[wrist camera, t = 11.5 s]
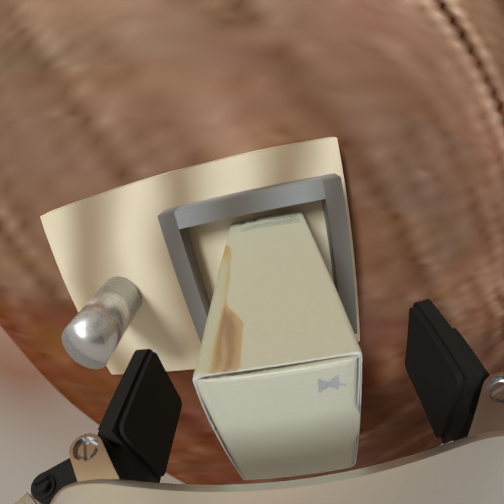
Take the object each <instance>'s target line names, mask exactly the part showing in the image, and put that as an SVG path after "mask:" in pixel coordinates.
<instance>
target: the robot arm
mask: <svg viewBox="0 0 504 504" xmlns="http://www.w3.org/2000/svg"><path fill="white" fill-rule="evenodd" d="M405 366H406V370H407V372H408V375H409V377H410V379H411V381H412V383H413V385H414V387H415V390H416V392H417V394H418V396H419V398H420V401H421V403H422V405H423V407H424V410H425V412H426V414H427V417H428V419H429V421H430V424H431V426H432V428H433V431H434V433H435V435H436V437H437V438H439V437H441V439H442V441H443V444H444V445H441V446H438V447H435V448H432V449H429V450H426V451H423V452H420V453H417V454H413V455H410V456H407V457H403V458H400V459H396V460H393V461H389V462H385V463H382V464H378V465H374V466H370V467H365V468H361V469H357V470H352V471H347V472H342V473H337V474H331V475H326V476H320V477H313V478H306V479H299V480H291V481H281V482H271V483H258V484H238V485H188V484H169V483H160V479H161V476H163V475H164V474H165V472H166V468H167V464H168V459H169V455H170V451H171V447H172V443H173V439H174V435H175V431H176V427H177V423H178V419H179V415H180V411H181V407H182V403H181V399H180V397H179V395H178V393H177V391H176V389H175V388H174V386H173V384H172V382H171V380H170V378H169V376H168V374H167V372H166V370H165V369H164V367H163V365H162V363H161V361H160V359H159V357H158V355H157V353H156V352H153V351H152V350H151V349H141V350H136V351H135V352H134V354H133V356H132V358H131V360H130V362H129V364H128V366H127V368H126V370H125V372H124V374H123V376H122V378H121V381H120V383H119V385H118V387H117V389H116V391H115V393H114V395H113V398H112V400H111V402H110V404H109V406H108V408H107V411H106V413H105V415H104V417H103V419H102V422H101V424H100V426H99V428H98V430H99V432H98V435H95V434H91V433H90V434H84V435H81V436H80V437H78V438H77V439H76V440H75V441H74V442H73V443H72V445H71V447H70V450H69V456H70V458H69V459H67V460H65V461H63V462H62V463H60V464H58V465H56V466H54V467H53V468H51V469H49V470H47V471H45V472H43V473H41V474H40V475H38V476H37V477H36V478H35V479H34V481H33V483H32V485H31V494H29V493H26V494H25V495H24V496H23V497H22V498H21V499H20V500H19V501H18V502H16V503H15V504H504V372H498V373H494V374H492V375H489V374H488V372H487V371H486V369H485V368H484V366H483V365H482V363H481V362H480V361H479V359H478V358H477V356H476V355H475V353H474V352H473V351H472V349H471V348H470V347H469V345H468V344H467V342H466V341H465V340H464V338H463V337H462V336H461V334H460V333H459V332H458V331H457V330H456V329H454V328H451V326H450V325H449V324H448V322H447V321H446V320H445V318H444V317H443V316H442V314H441V313H440V312H439V310H438V309H437V308H436V307H435V305H434V304H433V303H432V302H431V300H429V299H427V300H423V301H419V302H415V303H414V305H413V307H412V308H410V310H409V324H408V338H407V349H406V359H405ZM452 440H453V442H450V441H452ZM447 442H450V443H447ZM445 443H447V444H445Z"/></svg>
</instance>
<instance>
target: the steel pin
mask: <svg viewBox="0 0 504 504" xmlns="http://www.w3.org/2000/svg"><path fill="white" fill-rule="evenodd" d="M141 305H142V296H141V293H140V291H139V289H138V287H137V286H136V285H135V284H134V283H133V282H132V281H130V280H129V279H127V278H124V277H120V276H116V277H112V278H110V279H108V280H107V281H106V282H105V283H104V284H103V286H102V287H101V288H100V289H99V290H98V291H97V292H96V293H95V294H94V296H93V297H92V298H91V299H90V300H89V301H88V302H87V304H86V305H85V306H84V307H83V308H82V309H81V311H80V312H79V313H78V314H77V315H76V316H75V318H74V319H73V320H72V321H71V322H70V323H69V325H68V326H67V327H66V328H65V329H64V331H63V333H62V342H63V345H64V348H65V350H66V351H67V353H68V354H69V355H70V356H71V357H72V358H73V359H74V360H75V361H76V362H77V363H79V364H80V365H82V366H84V367H87V368H90V369H101V368H103V367H104V366H106V364H107V363H108V361H109V359H110V357H111V356H112V354H113V352H114V351H115V349H116V347H117V345H118V344H119V342H120V340H121V339H122V337H123V335H124V334H125V332H126V330H127V329H128V327H129V325H130V324H131V322H132V320H133V319H134V317H135V315H136V314H137V312H138V310H139V309H140V307H141Z"/></svg>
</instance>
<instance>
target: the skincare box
mask: <svg viewBox="0 0 504 504" xmlns="http://www.w3.org/2000/svg"><path fill="white" fill-rule="evenodd" d="M362 359H363V357H362V352H361V348H360V346H359V344H358V341H357V339H356V336H355V333H354V331H353V328H352V326H351V323H350V321H349V318H348V316H347V313H346V311H345V308H344V306H343V304H342V301H341V299H340V296H339V294H338V292H337V289H336V287H335V285H334V282H333V280H332V278H331V275H330V273H329V271H328V269H327V266H326V264H325V262H324V260H323V257H322V255H321V253H320V251H319V248H318V246H317V244H316V242H315V240H314V237H313V235H312V233H311V231H310V229H309V226H308V224H307V222H306V220H305V218H304V216H303V213H302V212H300V211H298V212H291V213H283V214H277V215H270V216H264V217H258V218H253V219H248V220H244V221H239V222H235V223H232V224H231V225H230V229H229V233H228V237H227V241H226V245H225V249H224V253H223V257H222V261H221V264H220V268H219V272H218V277H217V281H216V285H215V289H214V293H213V297H212V301H211V305H210V309H209V314H208V318H207V322H206V326H205V330H204V335H203V338H202V343H201V347H200V351H199V355H198V359H197V363H196V368H195V371H194V375H193V383H194V386H195V389H196V392H197V395H198V397H199V399H200V402H201V404H202V407H203V409H204V411H205V414H206V416H207V418H208V421H209V422H210V424H211V426H212V428H213V430H214V432H215V434H216V436H217V438H218V439H219V441H220V443H221V445H222V447H223V449H224V450H225V452H226V454H227V455H228V457H229V459H230V461H231V462H232V464H233V465H234V467H235V469H236V470H237V471H238V473H239V474H240V476H241V478H242V479H244V480H255V479H269V478H281V477H292V476H299V475H308V474H315V473H322V472H328V471H334V470H340V469H346V468H350V467H352V466H354V465H355V463H356V457H357V450H358V440H359V431H360V417H361V395H362Z"/></svg>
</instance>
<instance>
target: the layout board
mask: <svg viewBox="0 0 504 504" xmlns="http://www.w3.org/2000/svg"><path fill="white" fill-rule="evenodd" d="M298 211H300V212H302V213H303V216H304V218H305V220H306V222H307V224H308V226H309V229H310V231H311V233H312V235H313V237H314V240H315V242H316V244H317V246H318V248H319V251H320V253H321V255H322V257H323V260H324V262H325V264H326V266H327V269H328V271H329V273H330V275H331V278H332V280H333V282H334V285H335V287H336V289H337V292H338V294H339V296H340V299H341V301H342V304H343V306H344V308H345V311H346V313H347V316H348V318H349V321H350V323H351V326H352V328H353V331H354V333H355V336H356V339H357V341H358V342H360V329H359V310H358V295H357V282H356V271H355V260H354V250H353V241H352V232H351V224H350V216H349V209H348V201H347V194H346V188H345V181H344V175H343V169H342V163H341V157H340V152H339V146H338V141H337V137H326V138H320V139H314V140H308V141H303V142H297V143H292V144H286V145H281V146H276V147H271V148H266V149H261V150H257V151H252V152H247V153H243V154H238V155H234V156H230V157H225V158H221V159H217V160H213V161H209V162H205V163H201V164H197V165H193V166H189V167H185V168H182V169H178V170H174V171H171V172H167V173H164V174H160V175H157V176H153V177H150V178H146V179H143V180H140V181H137V182H133V183H130V184H127V185H124V186H121V187H117V188H114V189H111V190H108V191H105V192H102V193H99V194H96V195H93V196H91V197H88V198H85V199H82V200H79V201H76V202H74V203H71V204H68V205H65V206H63V207H60V208H57V209H55V210H52V211H50V212H48V213H46V214H44V215H42V216H40V218H41V221H42V224H43V227H44V230H45V233H46V236H47V238H48V241H49V244H50V247H51V249H52V252H53V255H54V257H55V260H56V262H57V265H58V267H59V270H60V272H61V274H62V277H63V279H64V282H65V284H66V286H67V289H68V291H69V293H70V295H71V297H72V300H73V302H74V304H75V306H76V308H77V310H78V312H80V311H81V309H82V308H83V307H84V306H85V305H86V304H87V302H88V301H89V300H90V299H91V298H92V297H93V296H94V294H95V293H96V292H97V291H98V290H99V289H100V288H101V287H102V286H103V284H104V283H105V282H106V281H107V280H108V279H110V278H112V277H116V276H120V277H124V278H127V279H129V280H130V281H132V282H133V283H134V284H135V285H136V286H137V287H138V289H139V291H140V293H141V296H142V305H141V307H140V309H139V310H138V312H137V314H136V315H135V317H134V319H133V320H132V322H131V324H130V325H129V327H128V329H127V330H126V332H125V334H124V335H123V337H122V339H121V340H120V342H119V344H118V345H117V347H116V349H115V351H114V352H113V354H112V356H111V357H110V359H109V361H108V363H107V364H106V366H107V367H108V369H109V371H110V373H111V374H124V372H125V370H126V368H127V366H128V364H129V362H130V360H131V358H132V356H133V354H134V352H135V351H136V350H141V349H151V350H152V351H153V352H156V353H157V355H158V357H159V359H160V361H161V363H162V365H163V367H164V369H165V370H166V371H178V370H189V369H195V368H196V363H197V359H198V355H199V351H200V347H201V343H202V338H203V335H204V330H205V326H206V322H207V318H208V314H209V309H210V305H211V301H212V297H213V293H214V289H215V285H216V281H217V277H218V272H219V268H220V264H221V261H222V257H223V253H224V249H225V245H226V241H227V237H228V233H229V229H230V225H231V224H232V223H235V222H239V221H244V220H248V219H253V218H258V217H264V216H270V215H277V214H283V213H291V212H298Z"/></svg>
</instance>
